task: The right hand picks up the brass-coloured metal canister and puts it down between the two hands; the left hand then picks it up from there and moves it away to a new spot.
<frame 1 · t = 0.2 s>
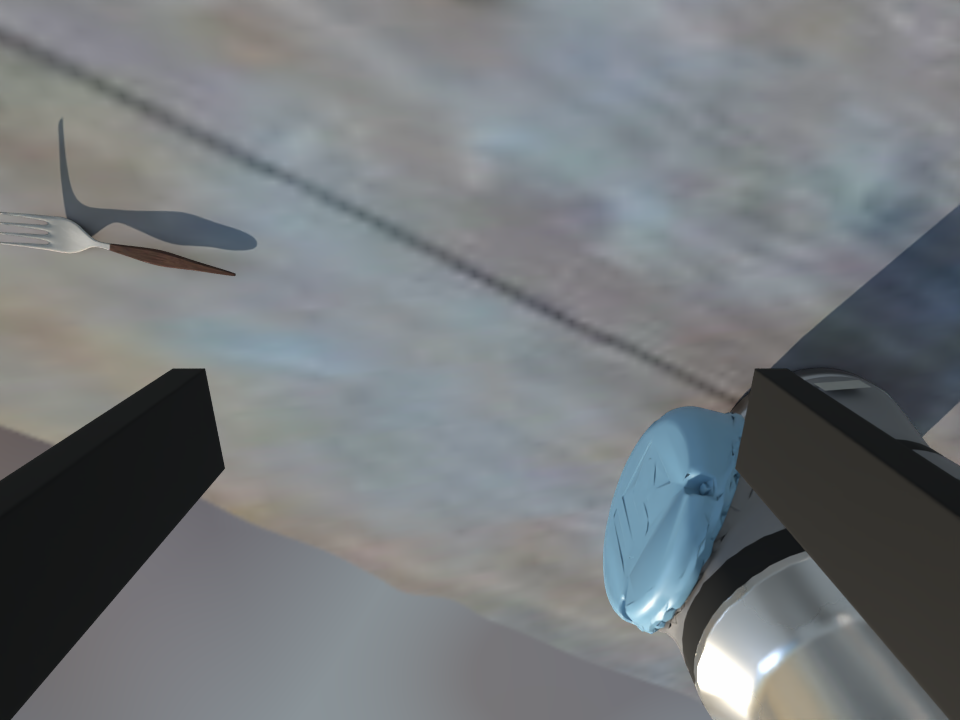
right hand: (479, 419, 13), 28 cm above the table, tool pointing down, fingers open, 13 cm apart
fork: (132, 249, 39), on the table
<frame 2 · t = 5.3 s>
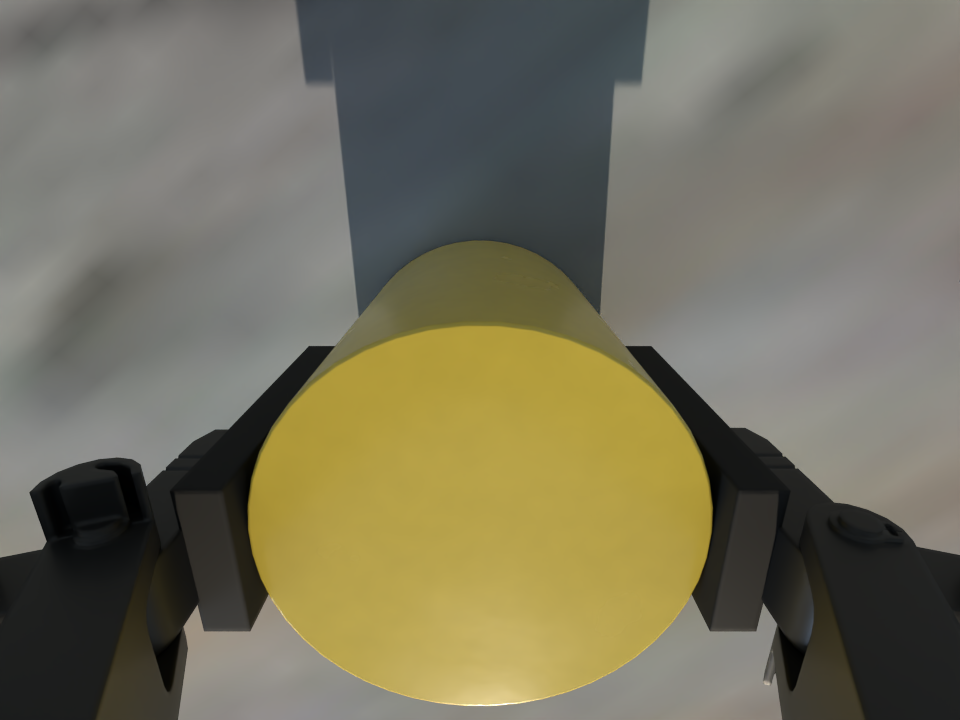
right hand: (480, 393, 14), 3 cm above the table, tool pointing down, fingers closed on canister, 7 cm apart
canister: (480, 359, 17), on the table, touching right hand
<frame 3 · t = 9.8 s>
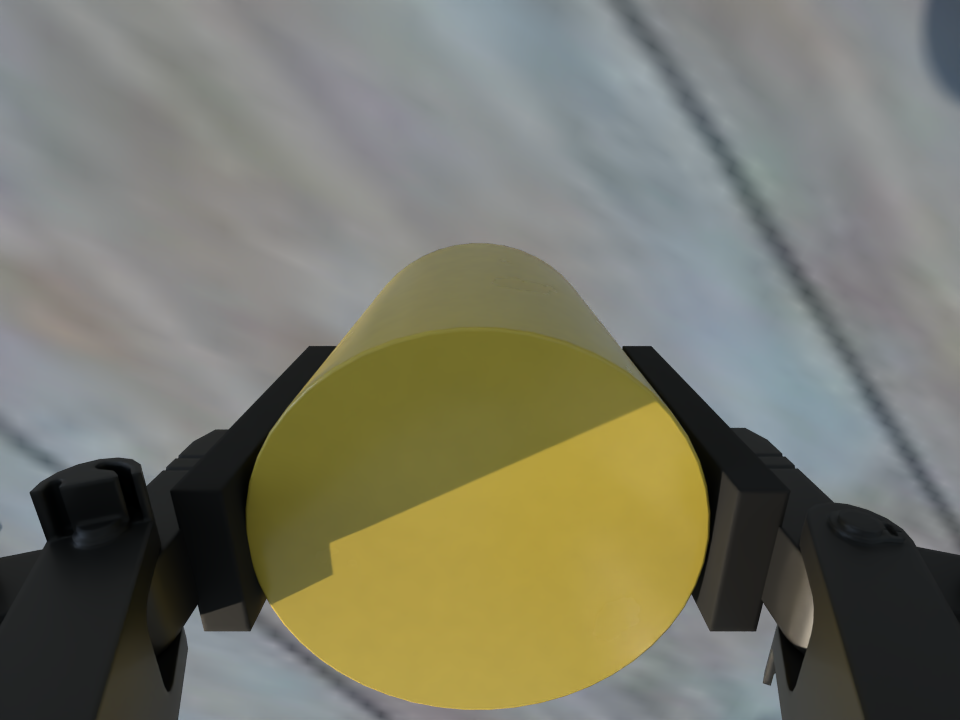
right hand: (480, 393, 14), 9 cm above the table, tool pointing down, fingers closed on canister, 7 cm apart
canister: (478, 361, 17), point 7 cm above the table, touching right hand
when the right hand's fingers open (4 cm above the table, at t = 14.3 s): canister drops 2 cm, on the table.
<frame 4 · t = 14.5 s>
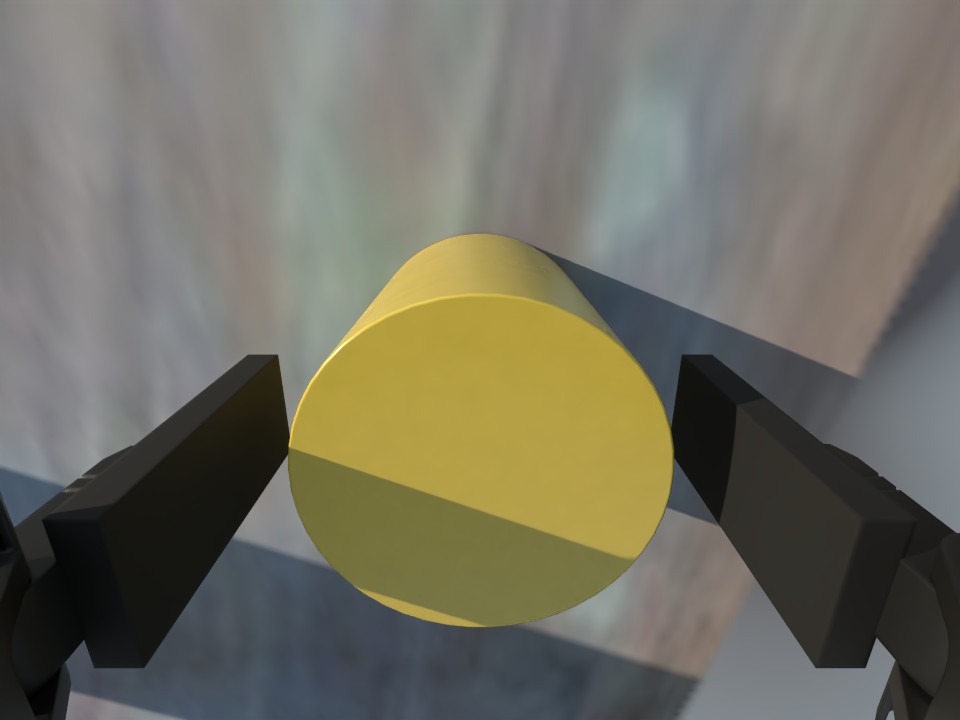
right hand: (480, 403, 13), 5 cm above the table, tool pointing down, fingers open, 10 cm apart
canister: (480, 342, 18), on the table
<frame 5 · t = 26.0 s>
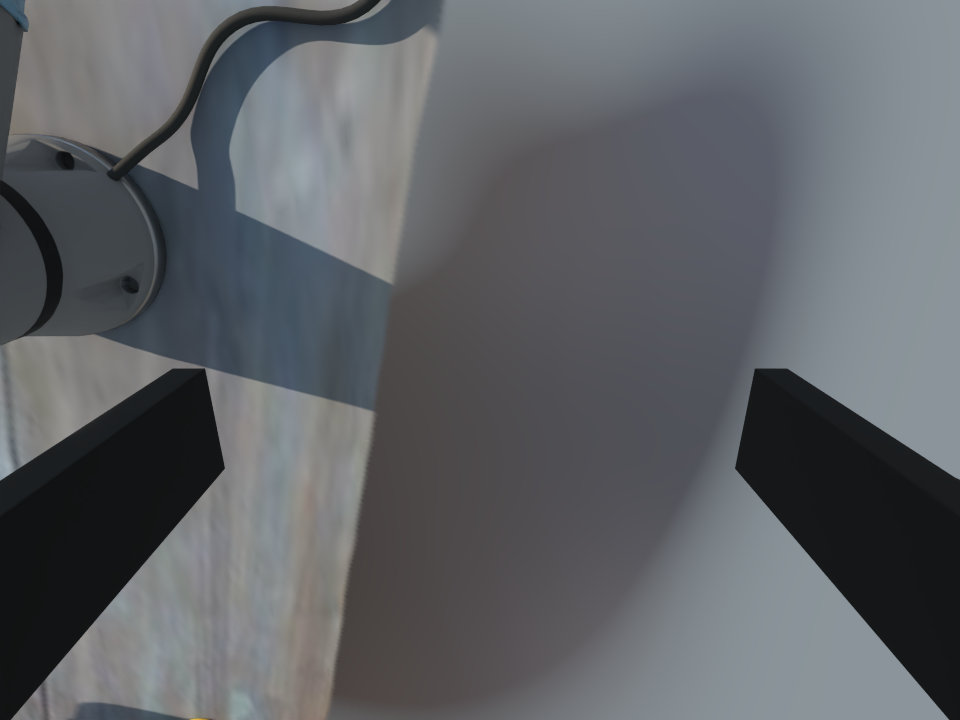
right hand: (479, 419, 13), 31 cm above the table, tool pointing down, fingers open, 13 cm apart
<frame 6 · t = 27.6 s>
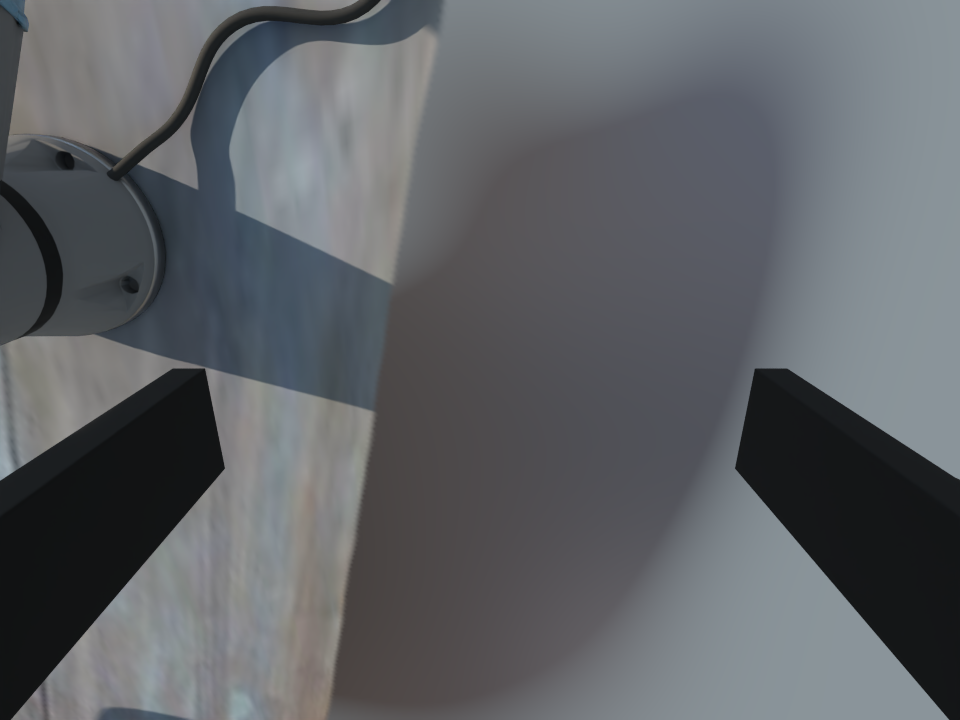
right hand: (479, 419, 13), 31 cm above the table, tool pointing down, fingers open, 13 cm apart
when the left hand's fingers open (4 cm above the table, at t = 29.3 s): canister drops 2 cm, on the table.
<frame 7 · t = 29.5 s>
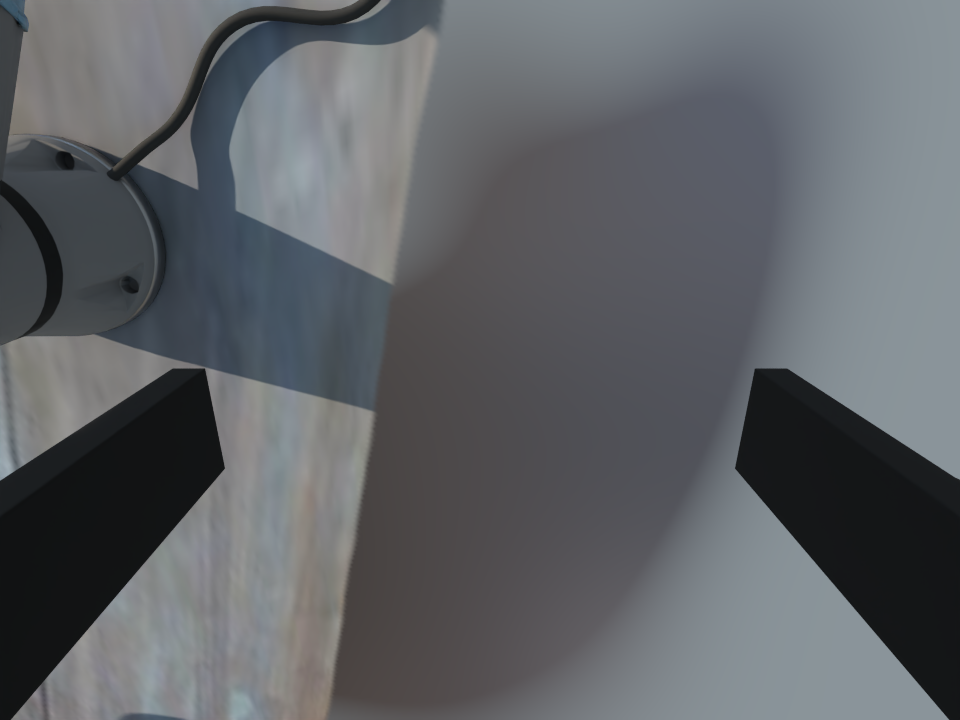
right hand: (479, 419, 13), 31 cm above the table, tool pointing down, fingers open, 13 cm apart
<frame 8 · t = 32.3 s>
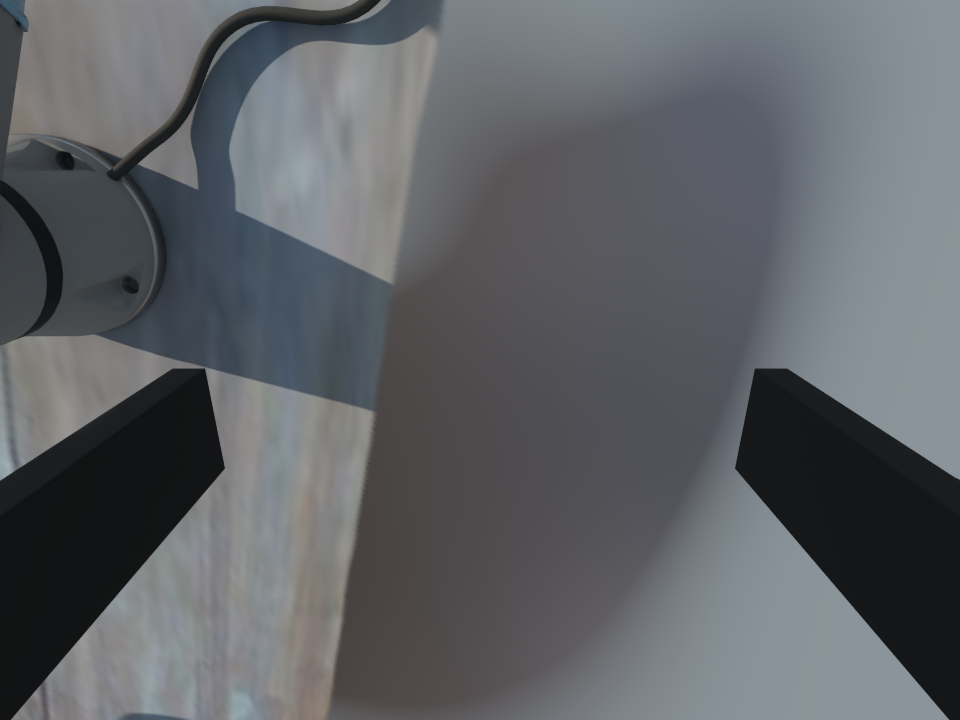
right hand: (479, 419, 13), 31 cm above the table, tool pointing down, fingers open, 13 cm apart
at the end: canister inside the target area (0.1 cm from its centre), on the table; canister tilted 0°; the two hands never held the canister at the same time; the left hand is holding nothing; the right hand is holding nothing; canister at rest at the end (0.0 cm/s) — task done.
